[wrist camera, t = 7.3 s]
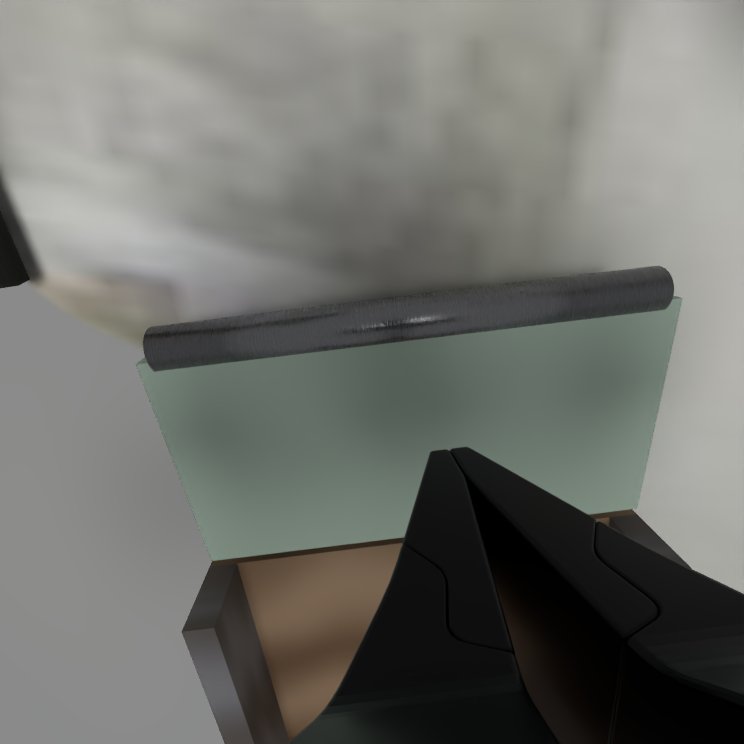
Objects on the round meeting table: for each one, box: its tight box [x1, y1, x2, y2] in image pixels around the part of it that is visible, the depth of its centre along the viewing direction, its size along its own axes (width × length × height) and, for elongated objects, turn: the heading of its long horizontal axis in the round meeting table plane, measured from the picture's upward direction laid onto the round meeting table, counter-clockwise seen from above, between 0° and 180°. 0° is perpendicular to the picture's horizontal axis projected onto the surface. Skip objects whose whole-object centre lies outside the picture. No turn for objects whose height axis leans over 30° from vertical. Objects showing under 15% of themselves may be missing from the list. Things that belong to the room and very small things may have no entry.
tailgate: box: [136, 266, 682, 561], centre depth 15 cm, size 2×18×10 cm
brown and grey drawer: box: [182, 509, 692, 744], centre depth 18 cm, size 14×19×7 cm
